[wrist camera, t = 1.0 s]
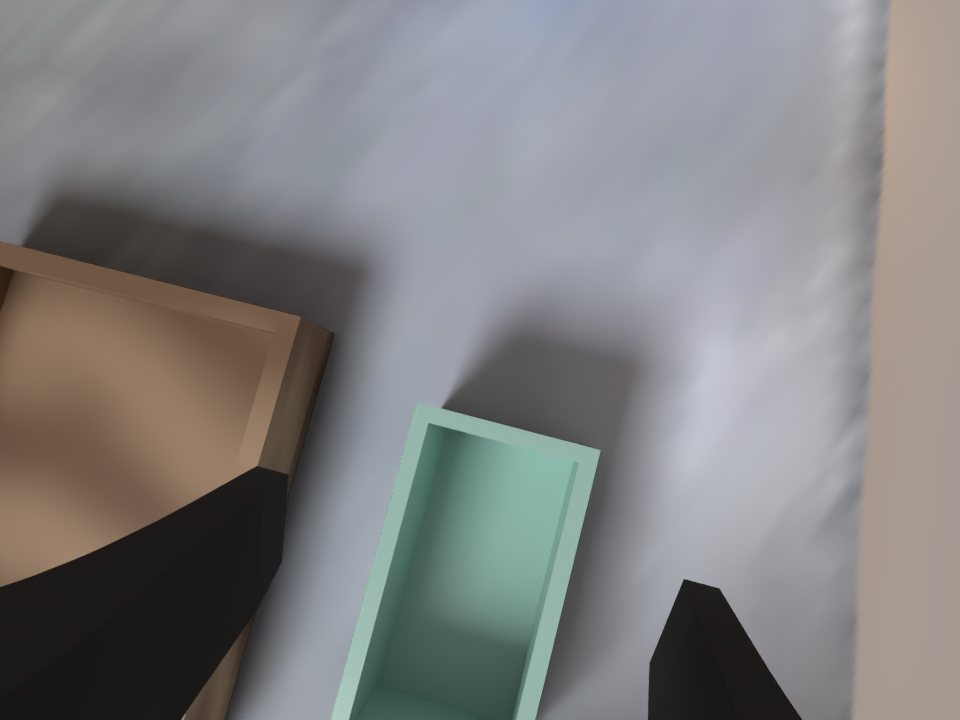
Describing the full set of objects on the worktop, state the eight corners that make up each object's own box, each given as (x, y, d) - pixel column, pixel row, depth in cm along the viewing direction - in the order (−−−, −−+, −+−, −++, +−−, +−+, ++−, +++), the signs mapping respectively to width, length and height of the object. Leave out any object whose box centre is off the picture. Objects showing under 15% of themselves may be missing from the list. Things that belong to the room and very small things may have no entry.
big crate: (213, 757, 24) (157, 811, 20) (-115, 644, 25) (-219, 676, 22) (334, 334, 25) (300, 316, 22) (15, 253, 27) (-63, 225, 23)
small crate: (519, 739, 23) (513, 811, 18) (365, 690, 24) (323, 747, 19) (590, 448, 24) (600, 450, 19) (440, 409, 24) (416, 402, 20)
